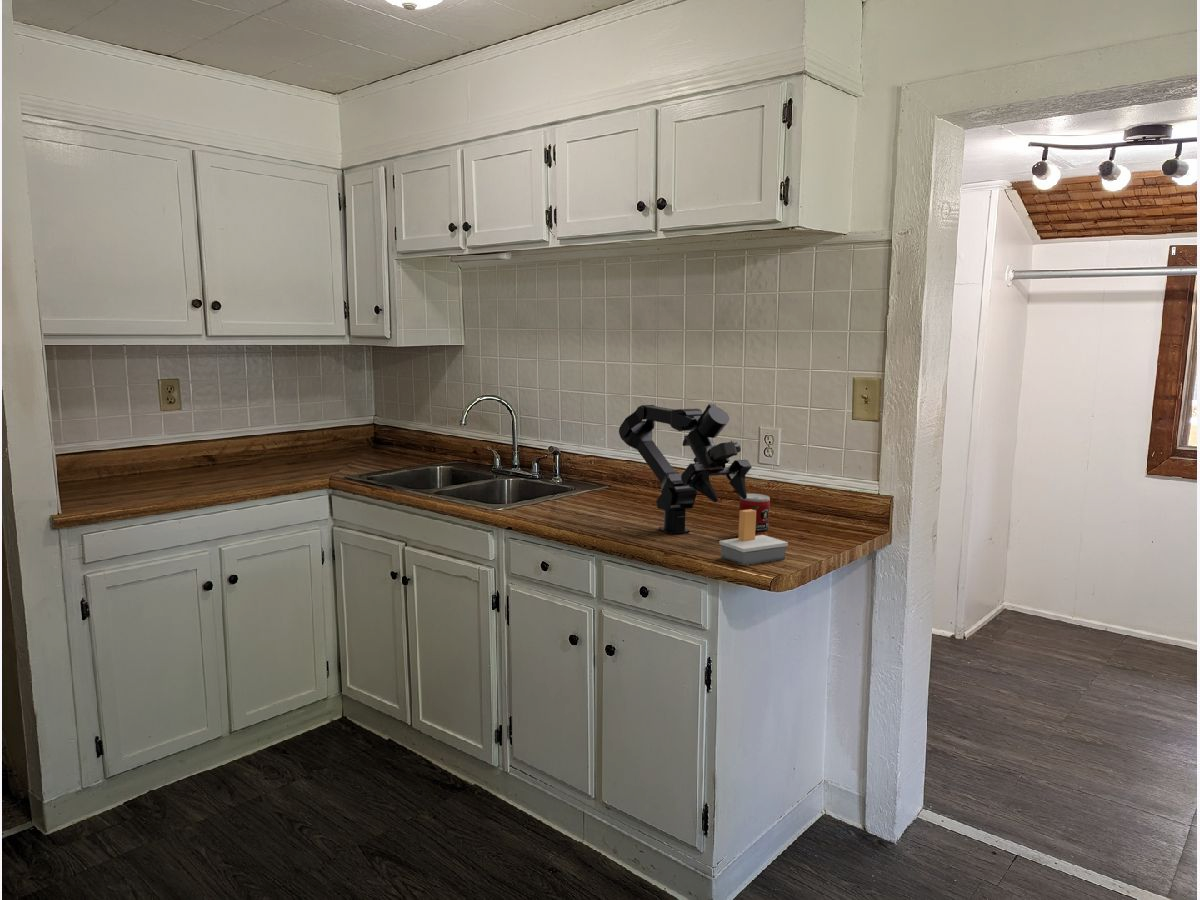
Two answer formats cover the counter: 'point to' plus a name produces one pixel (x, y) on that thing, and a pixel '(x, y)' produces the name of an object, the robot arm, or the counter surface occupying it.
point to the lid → (751, 535)
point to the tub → (753, 555)
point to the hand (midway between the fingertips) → (731, 499)
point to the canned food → (757, 511)
